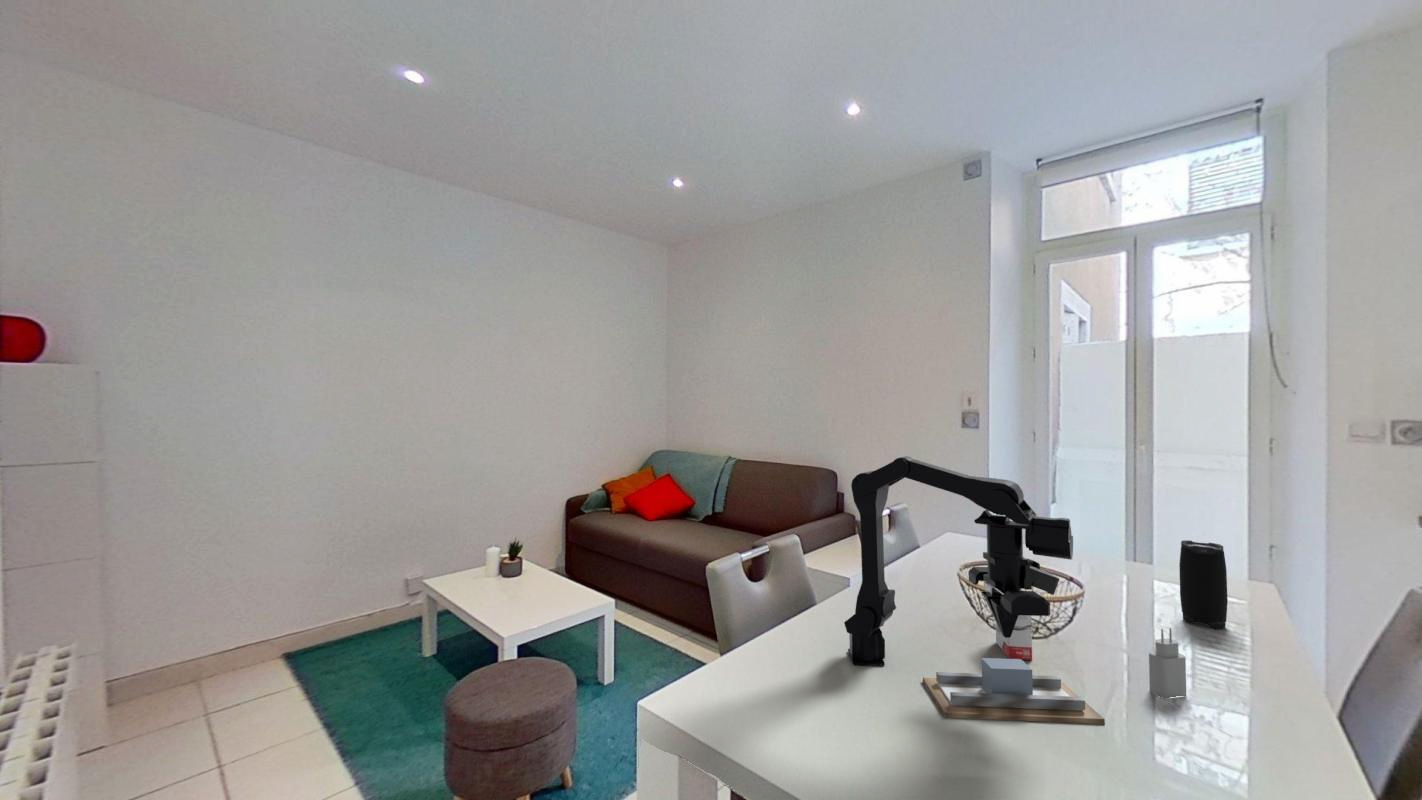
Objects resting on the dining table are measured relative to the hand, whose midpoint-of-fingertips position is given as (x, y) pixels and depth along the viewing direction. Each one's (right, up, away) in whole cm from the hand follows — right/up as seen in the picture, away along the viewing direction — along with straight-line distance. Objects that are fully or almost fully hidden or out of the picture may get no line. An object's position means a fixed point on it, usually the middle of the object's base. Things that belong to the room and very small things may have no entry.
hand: (1006, 636), depth 96 cm
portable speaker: (+68, -12, +34) cm, 77 cm away
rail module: (0, -10, 0) cm, 10 cm away
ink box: (+13, -12, +20) cm, 26 cm away
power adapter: (+31, -12, +2) cm, 34 cm away
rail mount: (0, -12, 0) cm, 12 cm away
